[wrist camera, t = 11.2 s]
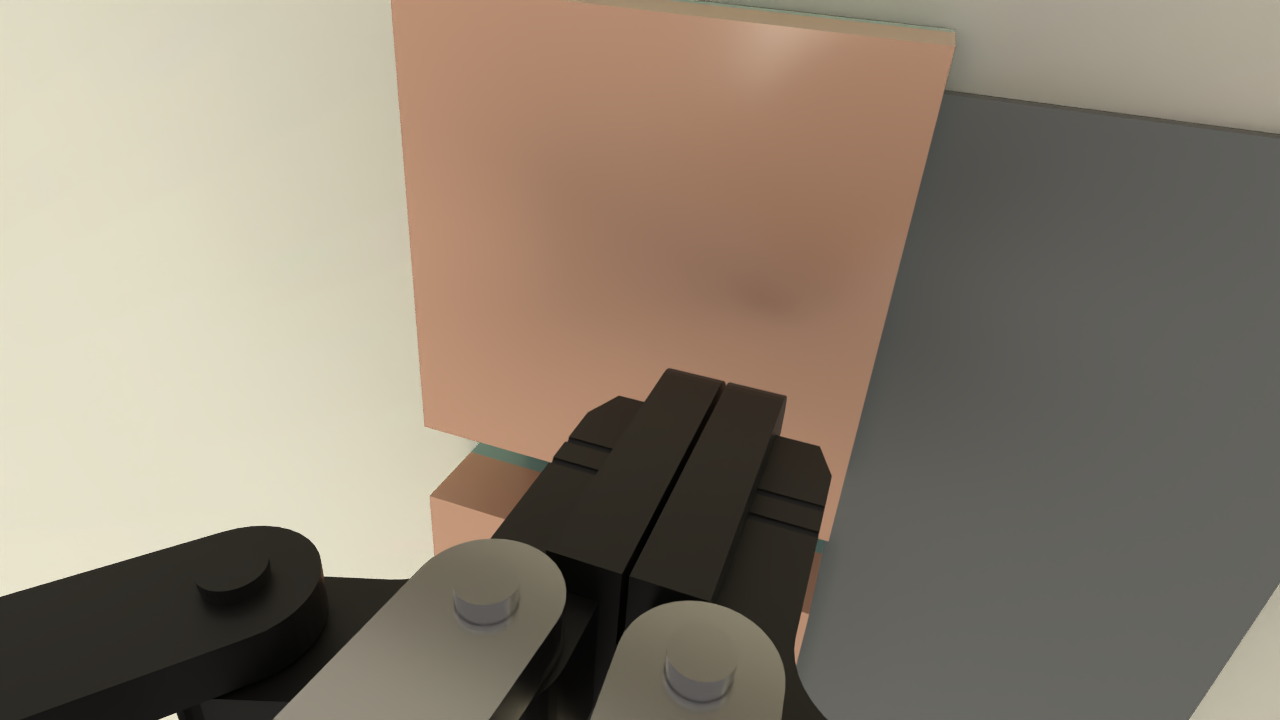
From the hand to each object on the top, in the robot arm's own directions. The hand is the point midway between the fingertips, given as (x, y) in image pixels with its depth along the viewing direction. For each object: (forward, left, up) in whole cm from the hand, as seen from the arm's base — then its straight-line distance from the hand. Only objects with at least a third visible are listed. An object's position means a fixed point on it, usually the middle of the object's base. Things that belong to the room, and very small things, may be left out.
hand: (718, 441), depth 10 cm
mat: (-2, +6, -7) cm, 9 cm away
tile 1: (-2, 0, -5) cm, 6 cm away
